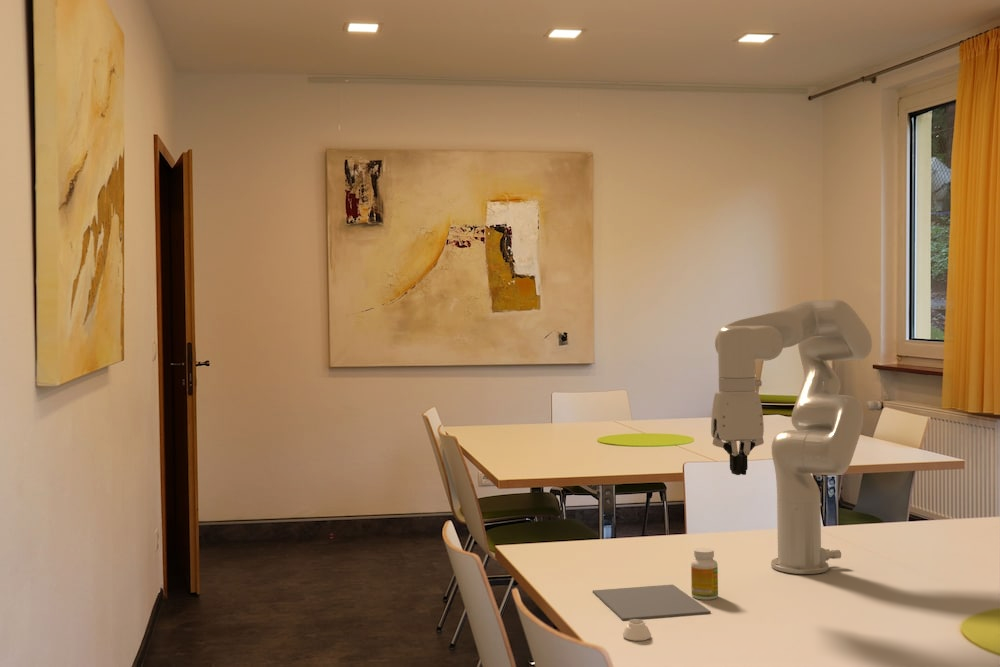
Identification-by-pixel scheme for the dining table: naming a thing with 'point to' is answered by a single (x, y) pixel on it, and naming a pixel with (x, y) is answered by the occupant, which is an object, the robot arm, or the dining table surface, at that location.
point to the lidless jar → (636, 630)
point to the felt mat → (649, 602)
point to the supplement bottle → (704, 575)
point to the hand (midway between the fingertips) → (738, 473)
